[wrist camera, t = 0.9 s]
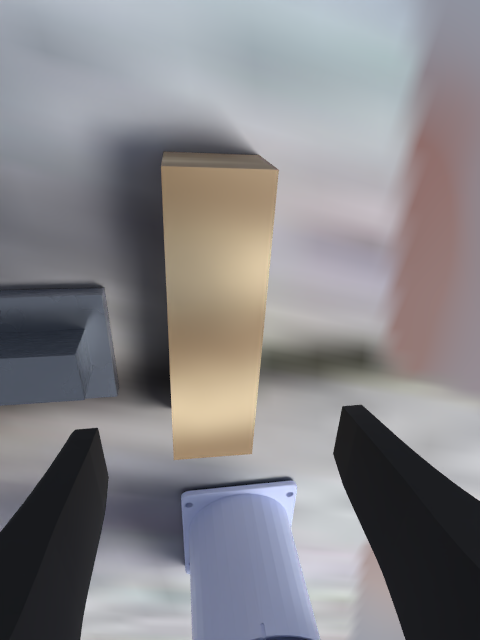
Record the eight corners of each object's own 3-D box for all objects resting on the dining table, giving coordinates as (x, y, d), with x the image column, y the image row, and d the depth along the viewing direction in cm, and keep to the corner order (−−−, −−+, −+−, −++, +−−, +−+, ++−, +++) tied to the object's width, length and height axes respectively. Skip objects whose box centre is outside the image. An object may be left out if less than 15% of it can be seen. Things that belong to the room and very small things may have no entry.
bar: (240, 402, 24) (251, 453, 21) (174, 405, 23) (173, 459, 20) (257, 154, 17) (278, 169, 14) (163, 150, 17) (160, 166, 13)
